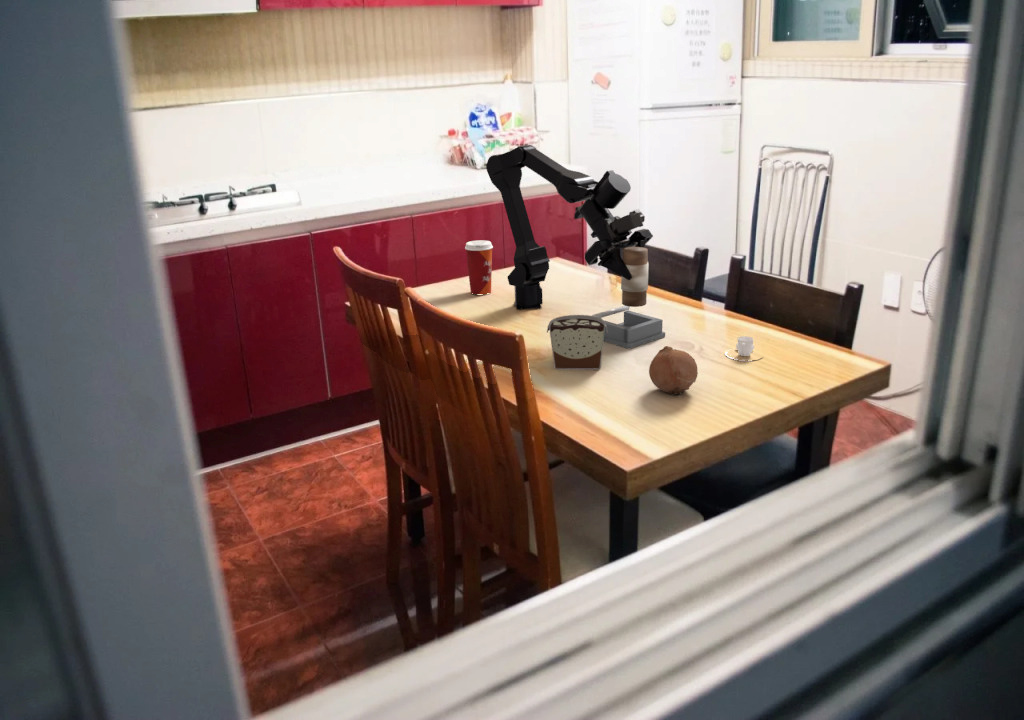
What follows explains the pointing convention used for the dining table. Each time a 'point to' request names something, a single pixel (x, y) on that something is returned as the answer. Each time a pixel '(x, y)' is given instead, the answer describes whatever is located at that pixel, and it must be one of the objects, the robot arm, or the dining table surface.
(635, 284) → the cord spool
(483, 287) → the paper cup
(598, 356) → the food container
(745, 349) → the teacup and saucer
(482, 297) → the dining table surface
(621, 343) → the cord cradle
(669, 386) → the onion
